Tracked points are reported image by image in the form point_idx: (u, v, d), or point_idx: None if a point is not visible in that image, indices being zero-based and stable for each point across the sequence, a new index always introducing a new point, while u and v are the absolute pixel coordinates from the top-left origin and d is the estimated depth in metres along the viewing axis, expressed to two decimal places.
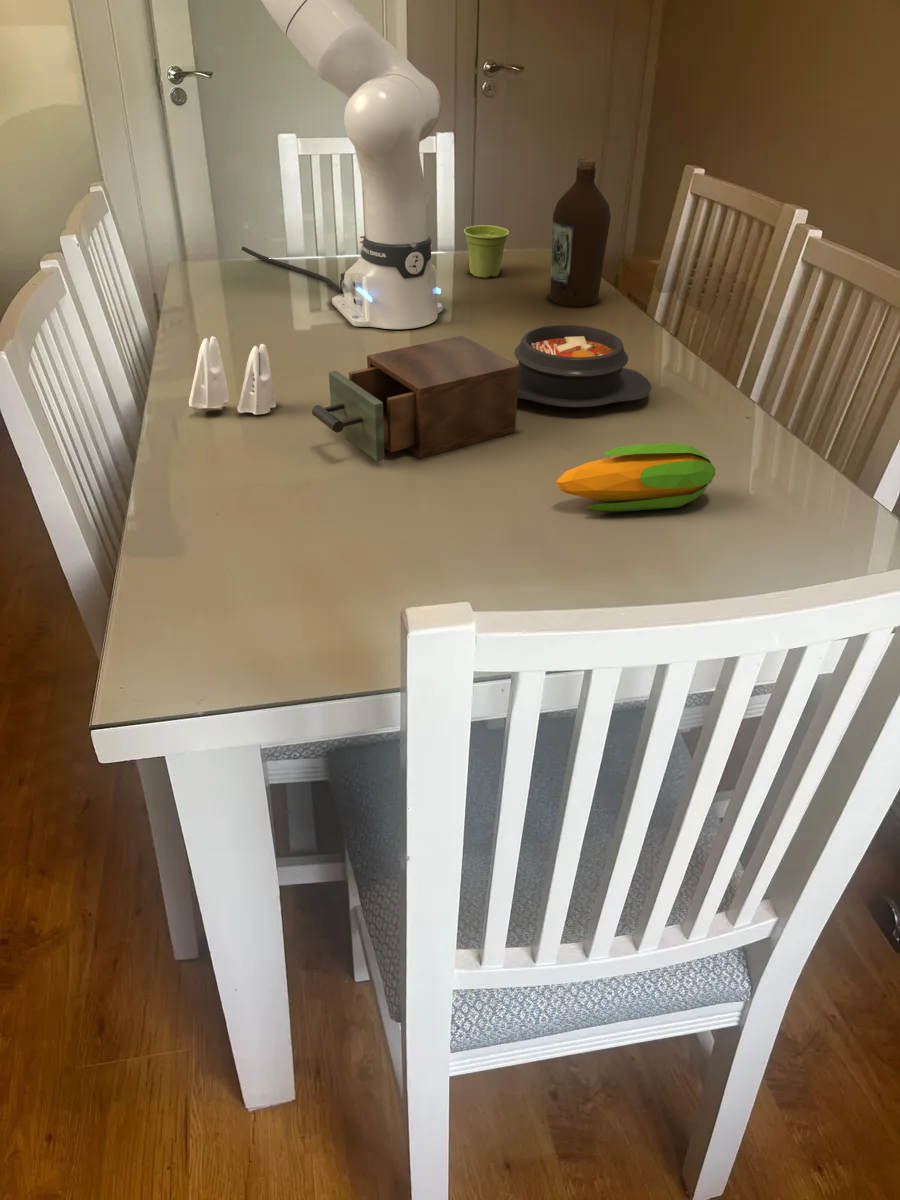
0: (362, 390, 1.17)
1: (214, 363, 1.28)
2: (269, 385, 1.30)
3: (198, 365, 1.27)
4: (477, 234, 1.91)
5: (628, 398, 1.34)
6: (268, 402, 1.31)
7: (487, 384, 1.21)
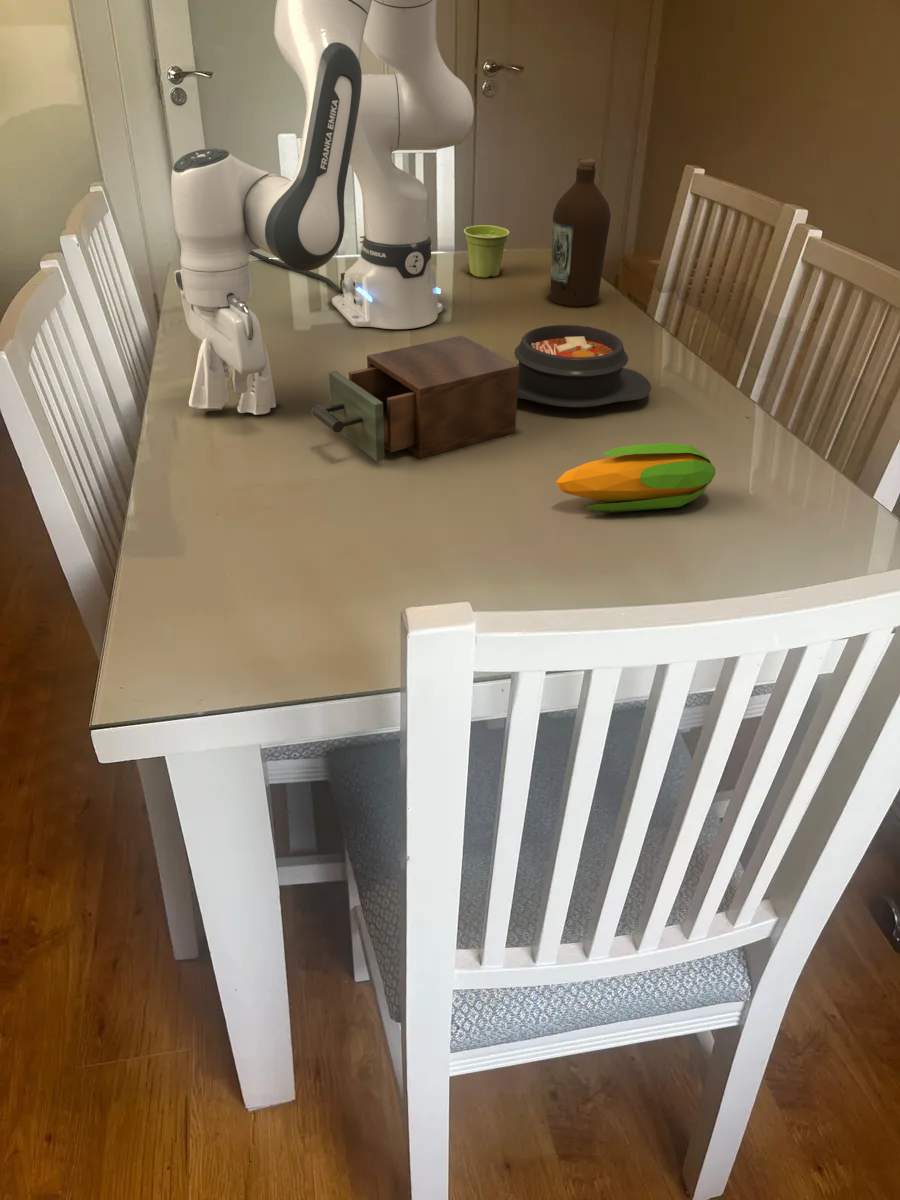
0: (362, 390, 1.17)
1: (214, 363, 1.28)
2: (269, 385, 1.30)
3: (198, 365, 1.27)
4: (477, 234, 1.91)
5: (628, 398, 1.34)
6: (268, 402, 1.31)
7: (487, 384, 1.21)
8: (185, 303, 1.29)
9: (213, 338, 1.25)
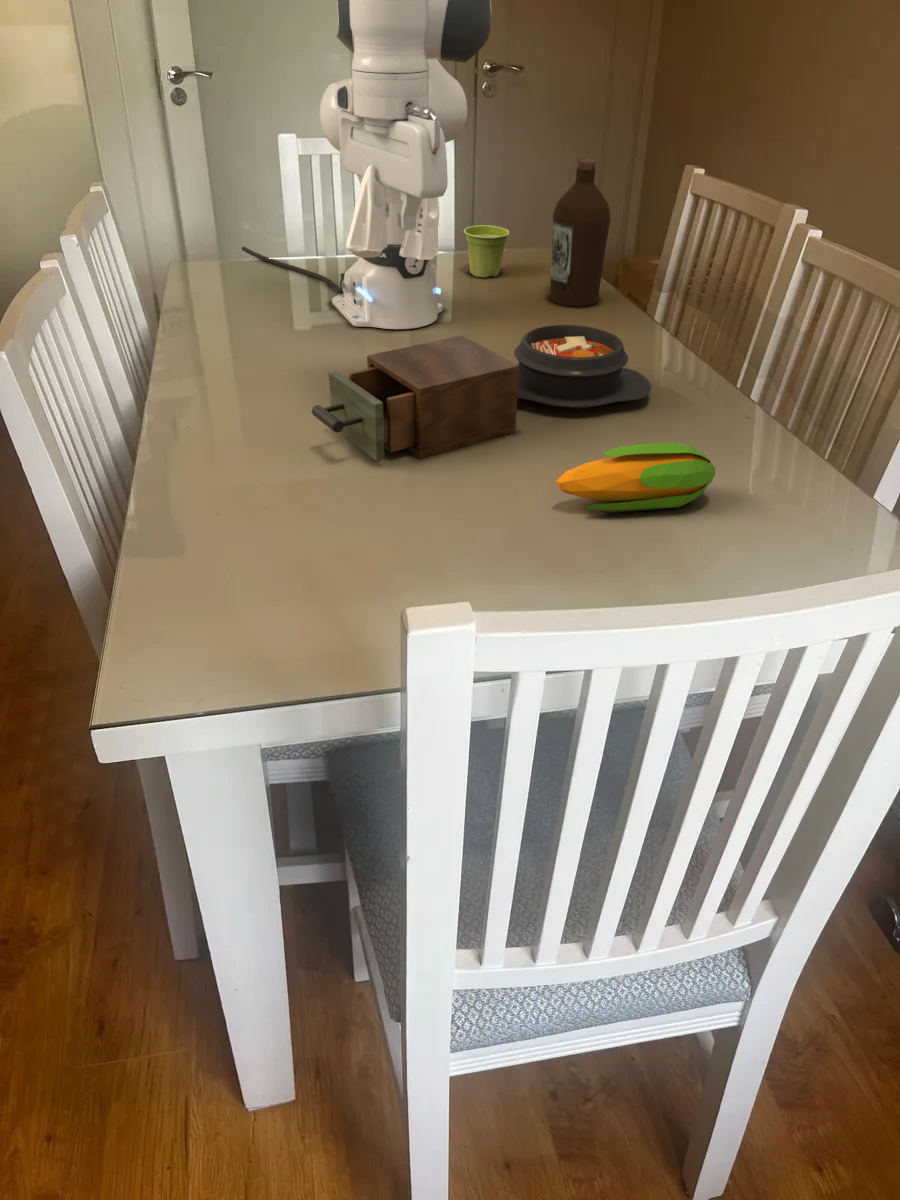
0: (362, 390, 1.17)
1: (377, 197, 1.12)
2: (437, 225, 1.15)
3: (360, 198, 1.11)
4: (477, 234, 1.91)
5: (628, 398, 1.34)
6: (433, 246, 1.16)
7: (487, 384, 1.21)
8: (343, 130, 1.14)
9: (381, 163, 1.09)
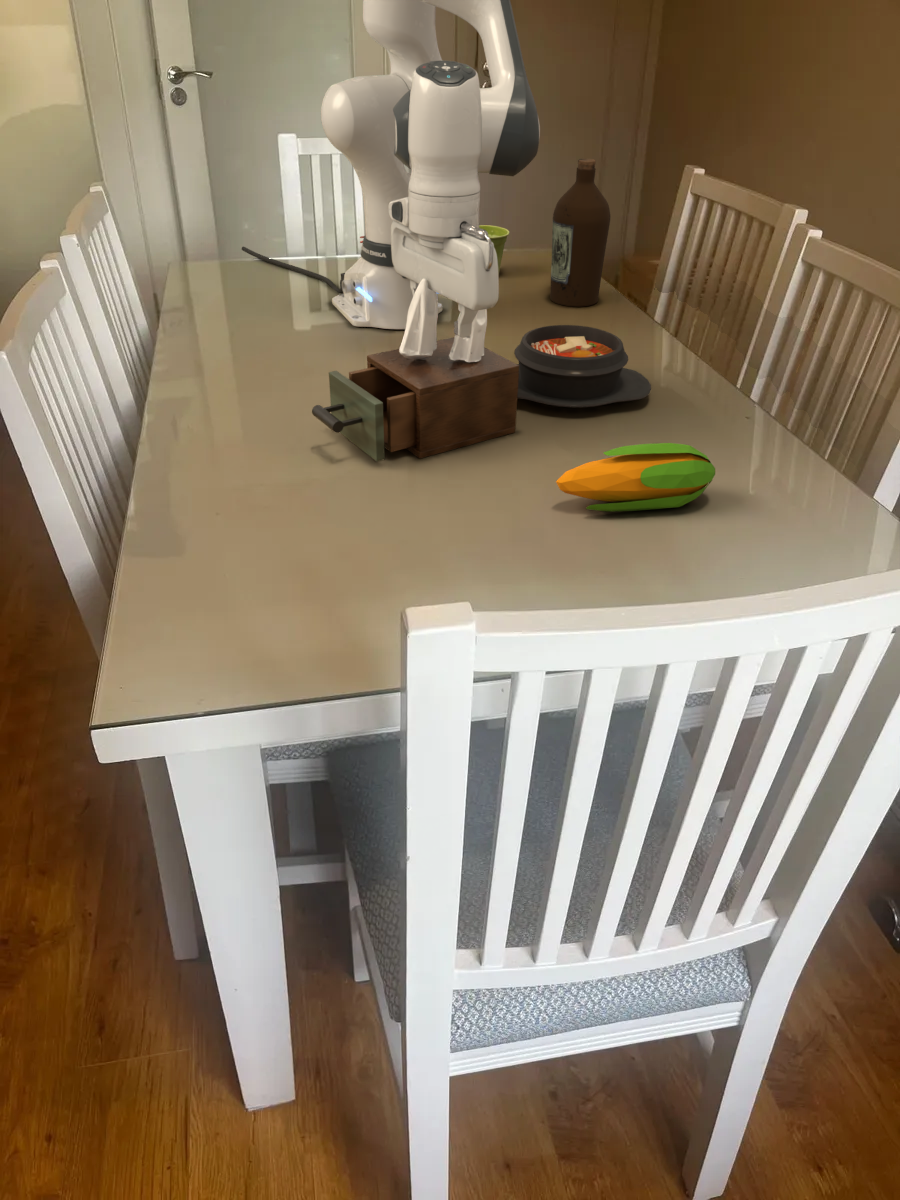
0: (362, 390, 1.17)
1: (429, 306, 1.19)
2: (484, 330, 1.21)
3: (414, 308, 1.18)
4: None
5: (628, 398, 1.34)
6: (481, 349, 1.23)
7: (487, 384, 1.21)
8: (395, 238, 1.20)
9: (433, 273, 1.16)
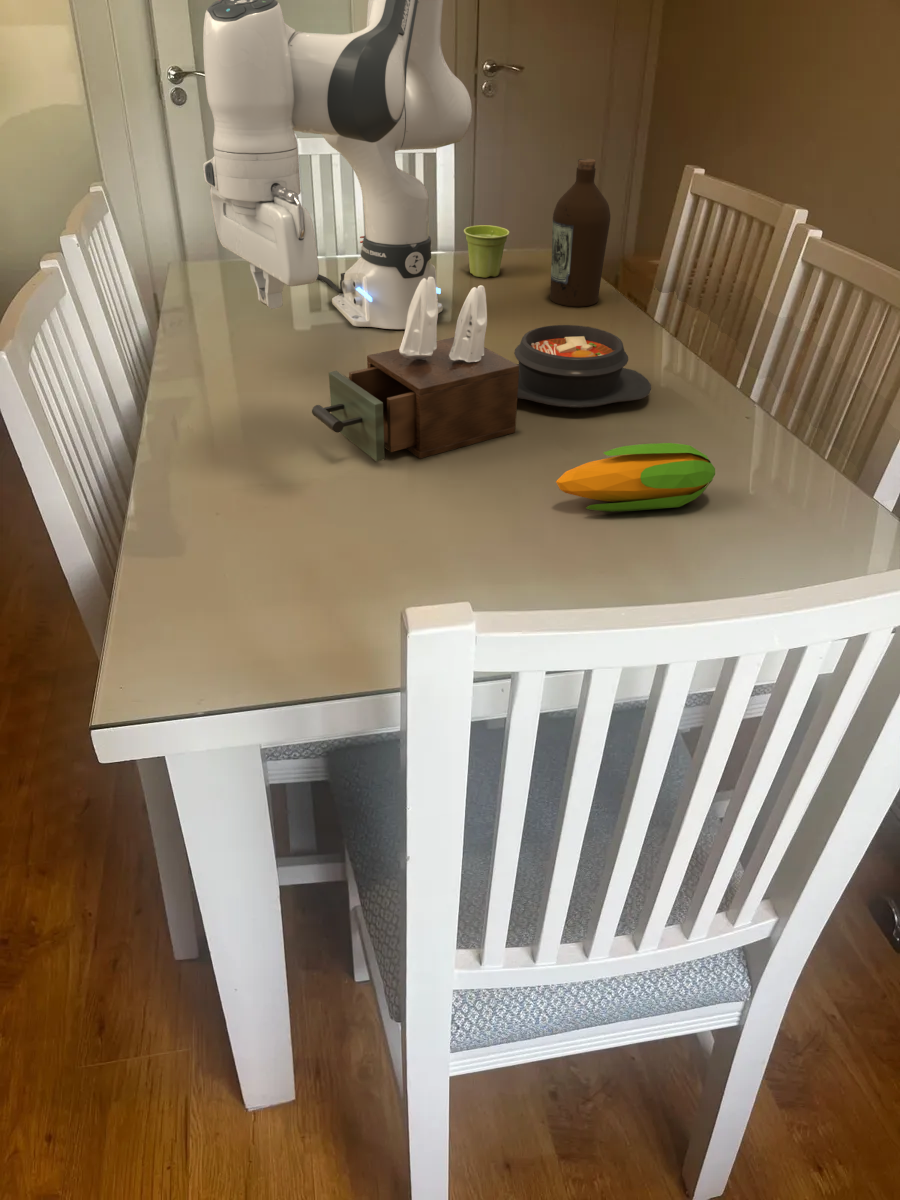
0: (362, 390, 1.17)
1: (429, 306, 1.19)
2: (484, 330, 1.21)
3: (414, 308, 1.18)
4: (477, 234, 1.91)
5: (628, 398, 1.34)
6: (481, 349, 1.23)
7: (487, 384, 1.21)
8: (216, 206, 1.06)
9: (251, 245, 1.01)
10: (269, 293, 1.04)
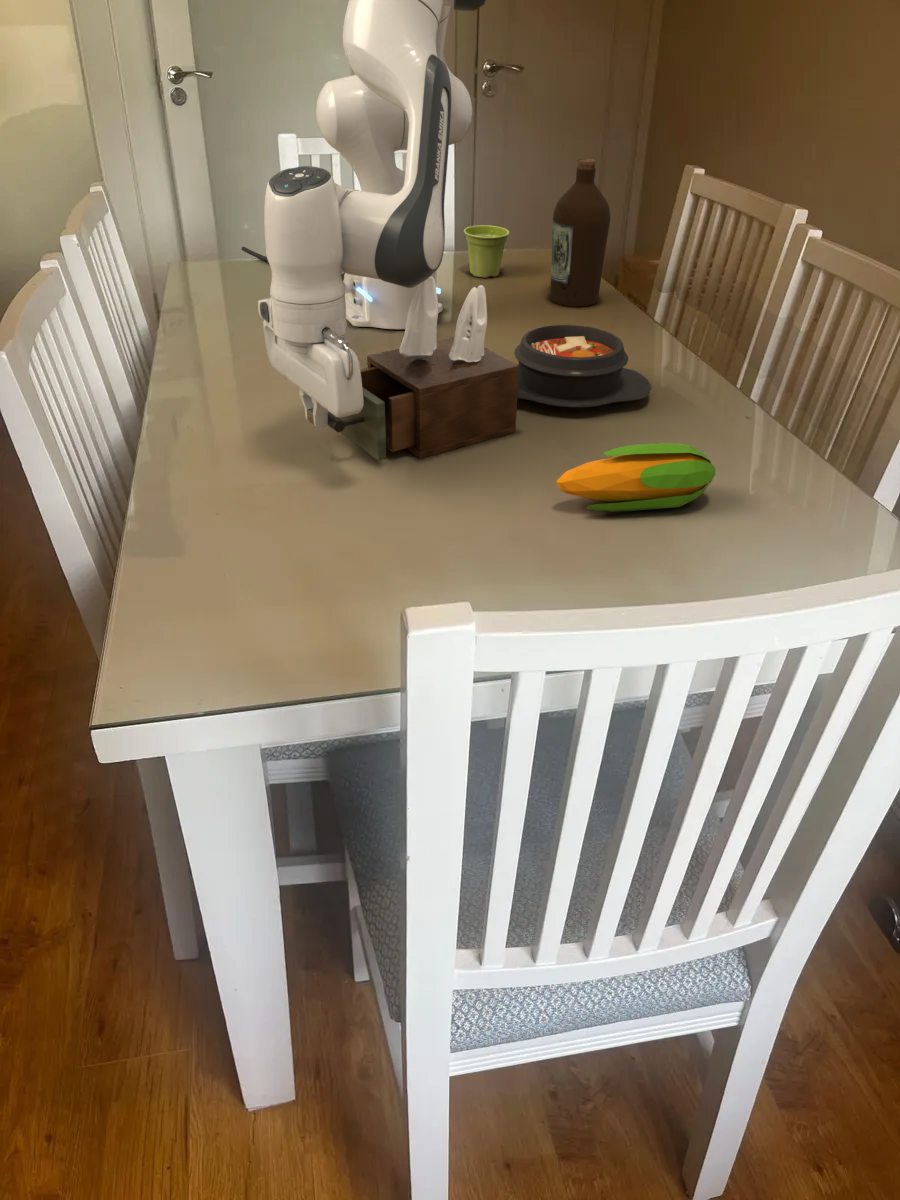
0: (364, 390, 1.17)
1: (429, 306, 1.19)
2: (484, 330, 1.21)
3: (414, 308, 1.18)
4: (477, 234, 1.91)
5: (628, 398, 1.34)
6: (481, 349, 1.23)
7: (487, 384, 1.21)
8: (268, 335, 1.17)
9: (302, 375, 1.13)
10: (316, 415, 1.16)
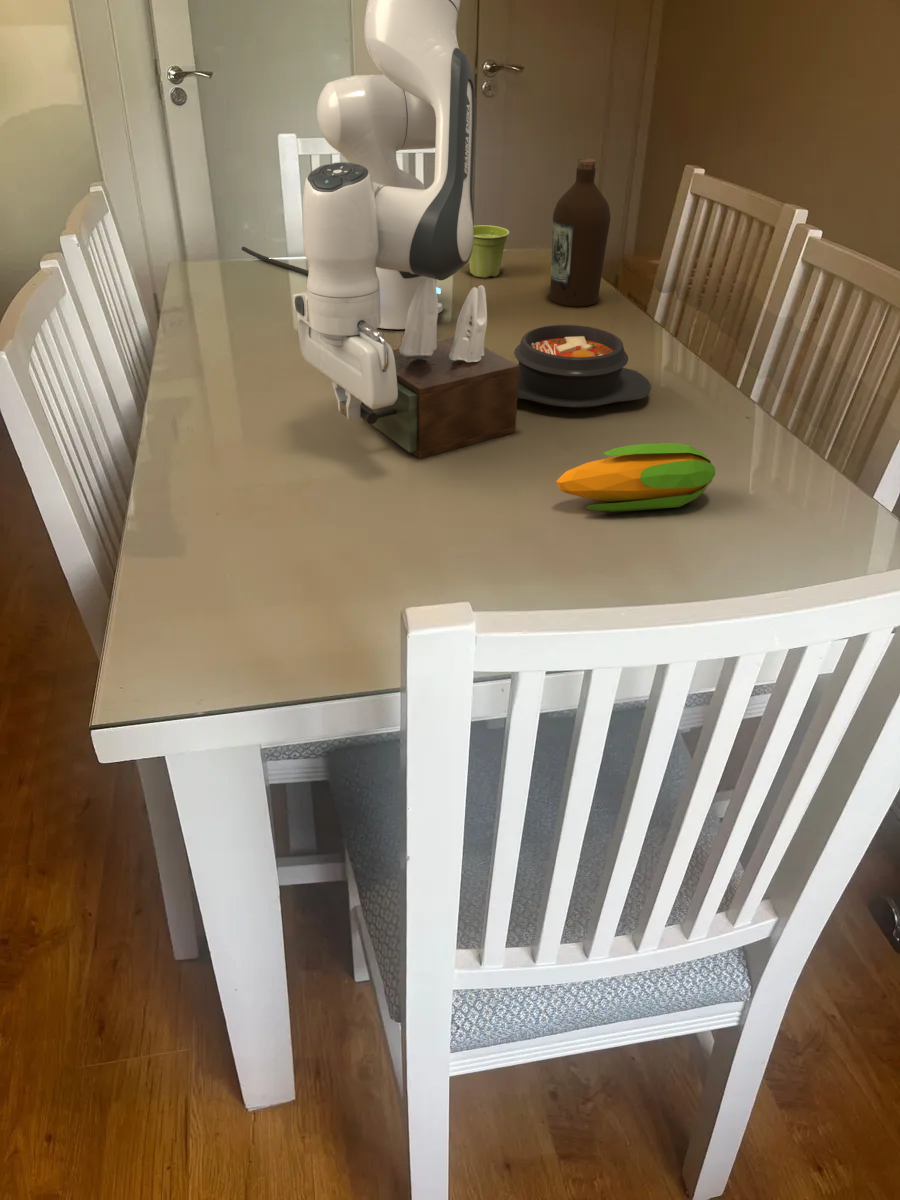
0: None
1: (429, 306, 1.19)
2: (484, 330, 1.21)
3: (414, 308, 1.18)
4: (477, 234, 1.91)
5: (628, 398, 1.34)
6: (481, 349, 1.23)
7: (487, 384, 1.21)
8: (301, 329, 1.19)
9: (336, 368, 1.15)
10: (349, 407, 1.18)
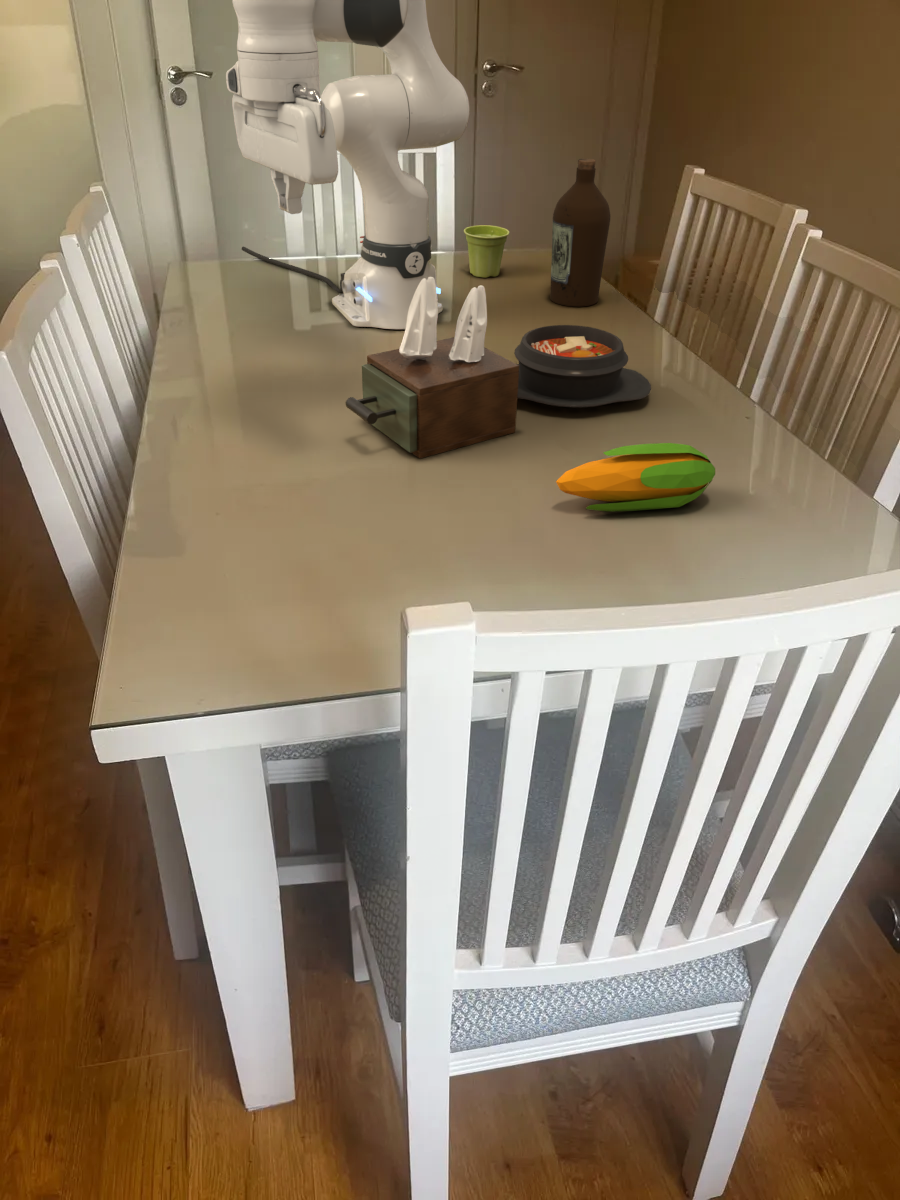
0: (396, 382, 1.20)
1: (429, 306, 1.19)
2: (484, 330, 1.21)
3: (414, 308, 1.18)
4: (477, 234, 1.91)
5: (628, 398, 1.34)
6: (481, 349, 1.23)
7: (487, 384, 1.21)
8: (237, 115, 1.09)
9: (273, 149, 1.05)
10: (289, 198, 1.08)
